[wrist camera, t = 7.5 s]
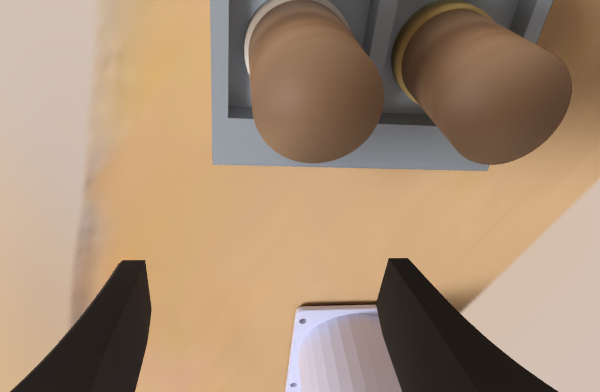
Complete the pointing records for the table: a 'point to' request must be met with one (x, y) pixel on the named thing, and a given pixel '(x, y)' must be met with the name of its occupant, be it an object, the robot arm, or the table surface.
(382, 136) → the grey divided tray
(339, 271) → the table surface
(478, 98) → the sleeve
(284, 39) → the sleeve seated
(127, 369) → the robot arm
